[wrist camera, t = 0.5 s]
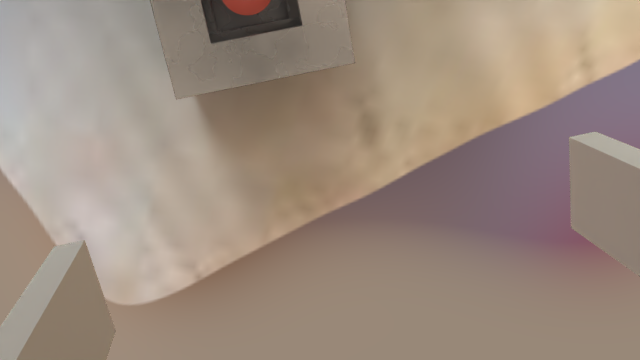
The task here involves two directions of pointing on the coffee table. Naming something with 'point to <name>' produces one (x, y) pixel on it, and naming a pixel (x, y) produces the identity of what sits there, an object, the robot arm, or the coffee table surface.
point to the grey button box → (249, 42)
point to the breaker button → (246, 6)
